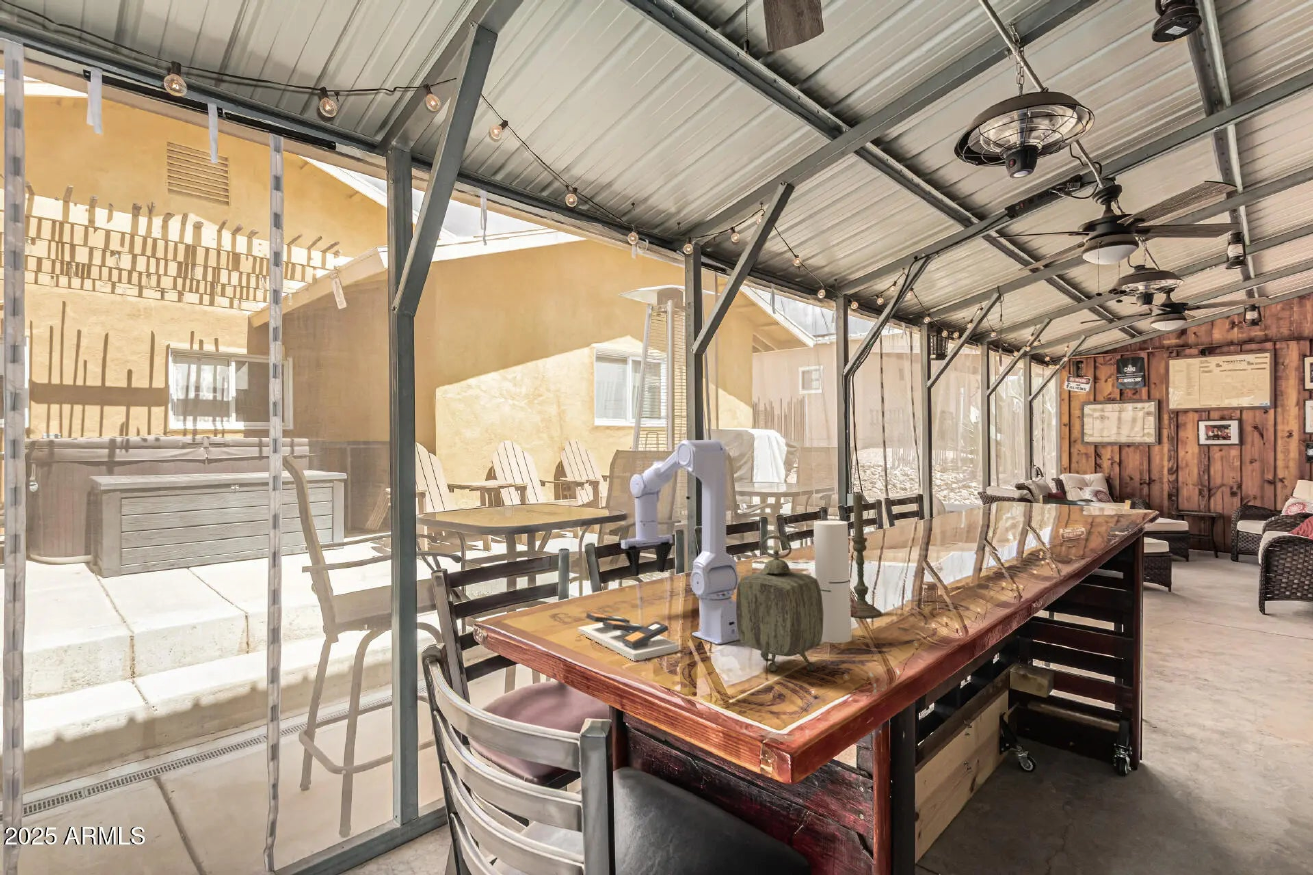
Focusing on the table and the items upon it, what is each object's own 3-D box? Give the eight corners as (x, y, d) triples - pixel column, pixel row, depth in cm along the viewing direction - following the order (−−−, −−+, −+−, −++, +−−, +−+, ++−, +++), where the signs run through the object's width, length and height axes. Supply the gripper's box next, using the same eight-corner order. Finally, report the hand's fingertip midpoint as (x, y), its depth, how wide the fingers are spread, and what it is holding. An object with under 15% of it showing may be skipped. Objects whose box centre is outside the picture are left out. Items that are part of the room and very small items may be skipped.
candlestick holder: (835, 611, 164) (831, 491, 165) (866, 607, 167) (862, 490, 168) (856, 619, 156) (852, 493, 156) (889, 615, 158) (884, 491, 159)
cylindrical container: (853, 643, 137) (848, 524, 138) (818, 642, 139) (814, 524, 139) (850, 633, 144) (846, 520, 145) (816, 633, 146) (812, 520, 146)
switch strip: (679, 650, 136) (679, 638, 136) (633, 661, 130) (633, 648, 130) (619, 625, 157) (619, 615, 157) (578, 633, 151) (577, 623, 151)
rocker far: (629, 624, 150) (630, 619, 151) (595, 621, 146) (596, 616, 146) (619, 620, 154) (620, 616, 154) (586, 617, 149) (587, 612, 150)
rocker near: (668, 630, 137) (667, 625, 137) (633, 648, 132) (631, 643, 132) (657, 625, 141) (655, 620, 141) (622, 643, 136) (621, 638, 136)
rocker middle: (647, 632, 144) (648, 627, 144) (612, 629, 139) (613, 623, 139) (637, 628, 147) (638, 623, 148) (602, 625, 143) (603, 619, 143)
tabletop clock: (825, 671, 121) (820, 535, 122) (797, 684, 115) (792, 541, 115) (762, 654, 132) (758, 530, 132) (733, 666, 125) (729, 535, 126)
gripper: (661, 517, 176) (663, 568, 176) (614, 522, 168) (616, 575, 168) (676, 519, 170) (678, 571, 170) (628, 524, 162) (630, 579, 162)
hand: (648, 573), depth 169 cm, fingers open, 7 cm apart
